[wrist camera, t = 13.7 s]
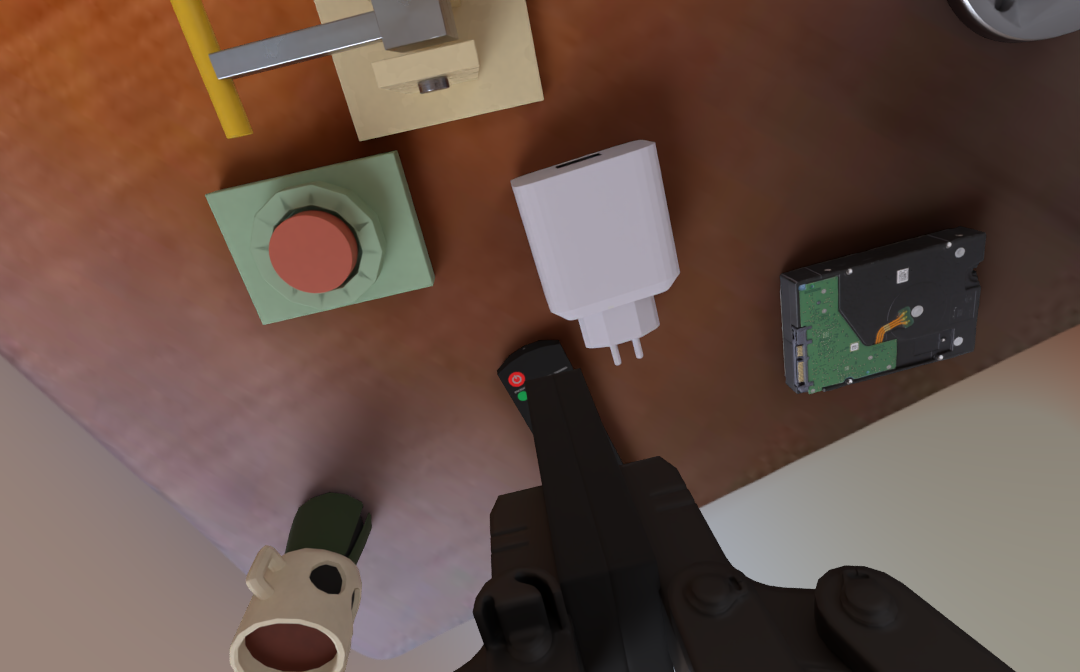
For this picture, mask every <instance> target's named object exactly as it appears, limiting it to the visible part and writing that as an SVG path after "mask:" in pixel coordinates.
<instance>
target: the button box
mask: <svg viewBox="0 0 1080 672" xmlns="http://www.w3.org/2000/svg"><path fill="white" fill-rule="evenodd" d="M205 196H206V198H207V201H208V203H209V205H210V207H211V210H212V212H213V214H214V216H215V219H216V221H217V223H218V225H219V227H220V230H221V232H222V234H223V236H224V239H225V241H226V243H227V245H228V248H229V250H230V252H231V254H232V257H233V259H234V261H235V263H236V266H237V268H238V270H239V272H240V275H241V277H242V279H243V281H244V283H245V286H246V288H247V290H248V292H249V295H250V297H251V299H252V301H253V304H254V306H255V308H256V310H257V313H258V315H259V317H260V319H261V322H262V324H263V325H266V324H270V323H274V322H278V321H283V320H287V319H291V318H296V317H300V316H304V315H309V314H313V313H317V312H322V311H326V310H330V309H335V308H339V307H343V306H348V305H352V304H356V303H360V302H365V301H369V300H373V299H378V298H382V297H386V296H391V295H395V294H399V293H404V292H408V291H412V290H417V289H421V288H425V287H430V286H433V283H434V279H435V275H434V272H433V269H432V265H431V262H430V259H429V255H428V252H427V248H426V245H425V242H424V238H423V235H422V232H421V228H420V225H419V221H418V218H417V215H416V211H415V208H414V205H413V201H412V198H411V194H410V191H409V188H408V184H407V181H406V178H405V174H404V171H403V167H402V164H401V161H400V157H399V154H398V151H397V150H394V151H390V152H386V153H381V154H377V155H372V156H368V157H363V158H359V159H355V160H350V161H346V162H341V163H337V164H332V165H328V166H324V167H319V168H315V169H310V170H306V171H301V172H297V173H293V174H288V175H284V176H279V177H275V178H270V179H266V180H262V181H257V182H253V183H248V184H244V185H239V186H235V187H231V188H226V189H222V190H218V191H215V192H212V193H208V194H206V195H205ZM308 210H318V211H324V212H327V213H330V214H332V215H334V216H336V217H337V218H339V219H340V220H342V221H343V222H344V223H345V224H346V225H347V226H348V227H349V229H350V230H351V231H352V233H353V235H354V237H355V239H356V243H357V247H358V257H357V262H356V265H355V267H354V269H353V270H352V272H351V273H350V275H349V276H348V277H347V279H346V280H345V281H344V282H343V283H342V284H341V285H340V286H338V287H337V288H335V289H333V290H331V291H328V292H324V293H308V292H303V291H300V290H298V289H295V288H293V287H292V286H290V285H289V284H287V283H286V282H285V281H284V280H282V279H281V278H280V276H279V275H278V274H277V273H276V271H275V269H274V268H273V266H272V263H271V260H270V256H269V242H270V238H271V236H272V234H273V232H274V230H275V229H276V228H277V226H278V225H280V224H281V223H282V222H283V221H285V220H286V219H288V218H290V217H291V216H293V215H295V214H297V213H299V212H303V211H308Z"/></svg>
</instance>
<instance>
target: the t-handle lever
mask: <svg viewBox="0 0 1080 672" xmlns="http://www.w3.org/2000/svg"><path fill="white" fill-rule="evenodd" d="M170 1H171V4H172V6H173V9H174V11H175V13H176V16H177V18H178V21H179V23H180V25H181V28H182V30H183V33H184V35H185V38H186V40H187V42H188V45H189V47H190V50H191V52H192V54H193V57H194V59H195V62H196V64H197V67H198V69H199V71H200V74H201V76H202V79H203V81H204V84H205V86H206V88H207V91H208V93H209V96H210V98H211V100H212V103H213V105H214V108H215V110H216V113H217V115H218V117H219V120H220V122H221V125H222V127H223V129H224V132H225V134H226V137H227V138H228V139H230V138H236V137H241V136H245V135H250V134H253V131H252V128H251V126H250V123H249V121H248V118H247V115H246V113H245V110H244V108H243V105H242V103H241V100H240V98H239V95H238V93H237V90H236V88H235V85H234V82H233V79H237V78H241V77H245V76H249V75H253V74H257V73H261V72H265V71H269V70H273V69H276V68H280V67H284V66H288V65H292V64H296V63H300V62H304V61H308V60H312V59H316V58H320V57H324V56H328V55H332V54H336V53H340V52H344V51H348V50H352V49H356V48H360V47H364V46H368V45H372V44H376V43H380V42H383V44H384V48H385V50H387V51H393V52H399V53H405V52H409V51H413V50H417V49H422V48H426V47H430V46H434V45H438V44H442V43H446V42H450V41H454V40H458V39H459V37H458V33H457V29H456V24H455V20H454V16H453V11H452V7H451V3H450V0H371V2H372V6H373V9H374V11H370V12H366V13H362V14H358V15H354V16H351V17H347V18H343V19H339V20H335V21H332V22H328V23H324V24H320V25H316V26H312V27H309V28H305V29H301V30H297V31H293V32H290V33H286V34H282V35H278V36H274V37H270V38H267V39H263V40H259V41H255V42H251V43H248V44H244V45H240V46H236V47H232V48H228V49H225V50H221V49H220V47H219V44H218V42H217V39H216V37H215V34H214V32H213V29H212V26H211V24H210V21H209V19H208V16H207V14H206V11H205V9H204V6H203V4H202V1H201V0H170Z"/></svg>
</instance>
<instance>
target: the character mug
mask: <svg viewBox="0 0 1080 672" xmlns="http://www.w3.org/2000/svg"><path fill="white" fill-rule="evenodd" d="M362 508H363V504H362V502H360V501H358V500H356V499H355V498H353V497H351V496H349V495H346V494H338V493H326V494H323V495H320V496H317V497H314V498H311V499H310V500H309V501H307V502H306V503H305V504H303V505H302V506H300V507H299V509H298V511H297V513H296V515H295V517H294V520H293V523H292V527H291V530H290V533H289V537H288V542H287V546H286V551H285V554H284V555H283V556H281V555H280V554H279V553H278V552H277V551H276V550H275V549H274V548H273V547H271V546H266V545H265V546H264V547H263V548H262V549H261V550H260V551H259V552H258V554H257V556H256V558H255V560H254V562H253V564H252V566H251V568H250V570H249V572H248V574H247V577H246V584H247V586H248V588H249V589H250V590H251V591H252V592H253V593H254V594H253V596H252V599H251V601H250V603H249V605H248V607H247V610H246V612H245V614H244V616H243V618H242V621H241V623H240V625H239V627H238V629H237V632H236V634H235V636H234V638H233V641H232V643H231V646H230V665H231V666H232V668H233V670H234V671H235V672H344V671H345V669H346V665H347V660H348V656H349V652H350V647H351V638H352V635H353V623H354V619H355V617H356V614H357V611H358V609H359V605H360V600H361V589H362V582H361V578H360V574H359V570H358V568H357V566H356V564H357V562H358V560H359V558H360V555H361V553H362V551H363V549H364V547H365V544H366V542H367V539H368V536H369V534H370V531H371V528H372V524H371V515H370V513H368V516H367V518H366V521H365V524H364V525H363V522H362V519H361V517H360V514H361V511H362Z"/></svg>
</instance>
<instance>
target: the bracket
mask: <svg viewBox="0 0 1080 672" xmlns="http://www.w3.org/2000/svg"><path fill="white" fill-rule="evenodd" d="M314 2H315V5H316V8H317V11H318V14H319V18H320V21H321V24H324V23H328V22H332V21H335V20H339V19H343V18H347V17H351V16H354V15H358V14H362V13H366V12H370V11H374V9H373V6H372V2H371V0H314ZM450 3H451V7H452V11H453V16H454V20H455V24H456V29H457V33H458V37H459V39H458V40H454V41H450V42H446V43H442V44H438V45H434V46H430V47H426V48H422V49H417V50H413V51H409V52H405V53H399V52H393V51H387V50H385V48H384V44H383V42H380V43H376V44H372V45H368V46H364V47H360V48H356V49H352V50H348V51H344V52H340V53H336V54H332V58H333V61H334V64H335V67H336V70H337V74H338V77H339V80H340V83H341V86H342V89H343V92H344V95H345V98H346V102H347V105H348V108H349V111H350V114H351V117H352V120H353V123H354V127H355V130H356V133H357V136H358V139H359V141H365V140H369V139H374V138H378V137H382V136H387V135H391V134H396V133H400V132H405V131H409V130H413V129H418V128H422V127H427V126H431V125H436V124H440V123H445V122H449V121H453V120H458V119H462V118H467V117H471V116H476V115H480V114H485V113H489V112H493V111H498V110H502V109H507V108H511V107H516V106H520V105H525V104H529V103H533V102H538V101H542V100H544V97H543V91H542V86H541V81H540V75H539V70H538V64H537V59H536V54H535V48H534V43H533V38H532V32H531V27H530V21H529V16H528V11H527V5H526V0H450Z"/></svg>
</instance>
